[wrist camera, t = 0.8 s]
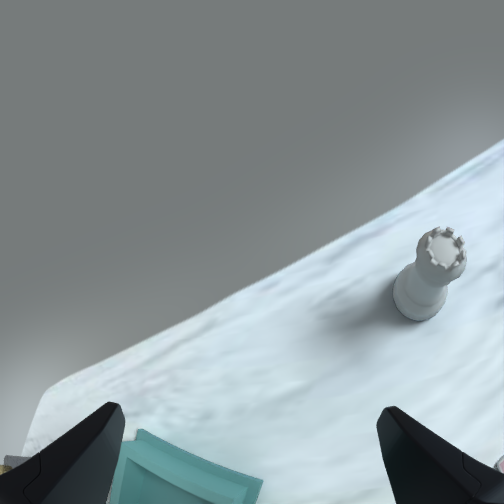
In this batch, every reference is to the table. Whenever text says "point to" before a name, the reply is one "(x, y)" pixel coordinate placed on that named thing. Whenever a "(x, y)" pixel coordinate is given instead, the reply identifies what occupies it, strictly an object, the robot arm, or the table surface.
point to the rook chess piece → (430, 274)
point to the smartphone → (500, 465)
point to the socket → (175, 476)
